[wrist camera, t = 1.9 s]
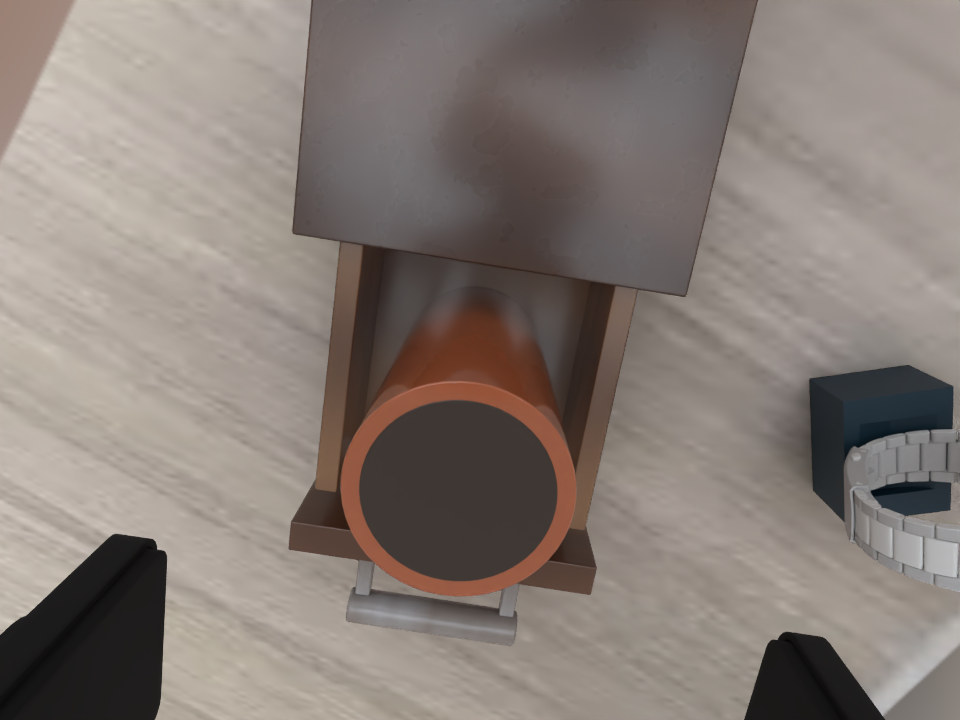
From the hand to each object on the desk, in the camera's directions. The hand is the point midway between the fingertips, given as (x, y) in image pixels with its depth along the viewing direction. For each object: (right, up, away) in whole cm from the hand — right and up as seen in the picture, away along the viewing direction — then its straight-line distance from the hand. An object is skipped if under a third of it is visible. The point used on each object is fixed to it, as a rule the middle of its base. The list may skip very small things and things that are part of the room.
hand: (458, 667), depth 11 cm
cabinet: (+2, +17, +17) cm, 24 cm away
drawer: (0, +3, +20) cm, 20 cm away
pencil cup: (0, +5, +18) cm, 19 cm away
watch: (+18, +2, +21) cm, 28 cm away
